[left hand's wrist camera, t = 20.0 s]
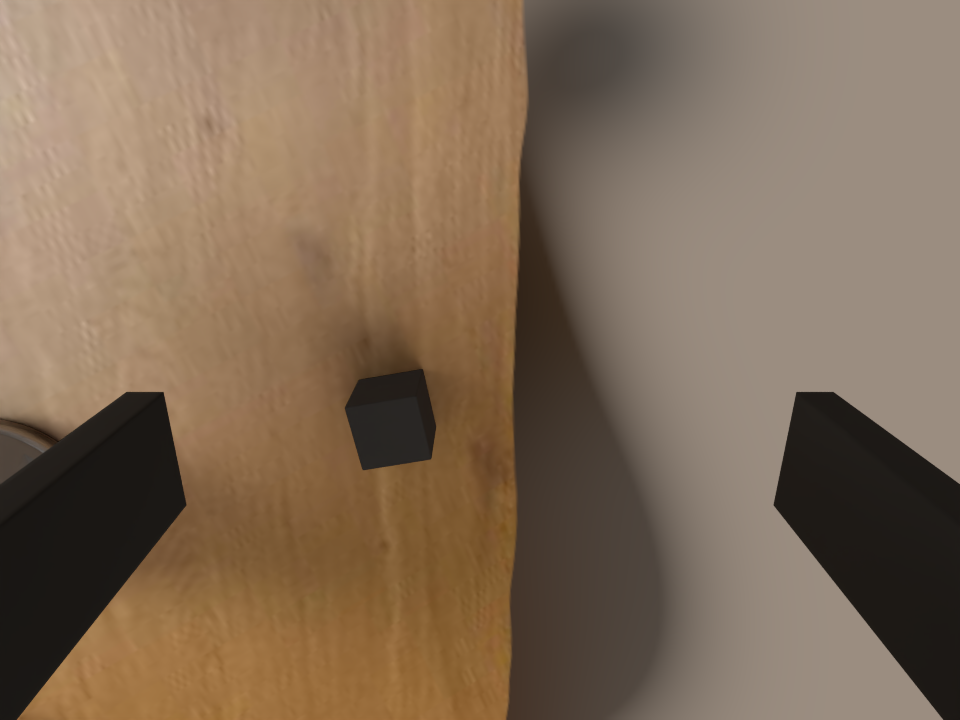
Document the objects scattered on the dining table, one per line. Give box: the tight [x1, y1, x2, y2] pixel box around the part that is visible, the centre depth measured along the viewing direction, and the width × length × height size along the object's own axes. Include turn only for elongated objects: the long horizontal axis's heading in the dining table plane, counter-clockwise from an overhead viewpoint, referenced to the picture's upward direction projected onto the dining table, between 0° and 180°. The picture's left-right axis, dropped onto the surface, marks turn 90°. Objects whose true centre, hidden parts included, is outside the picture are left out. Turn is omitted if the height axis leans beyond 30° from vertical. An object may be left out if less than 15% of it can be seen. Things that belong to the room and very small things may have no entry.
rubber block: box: [345, 369, 436, 470], centre depth 44 cm, size 5×5×5 cm
